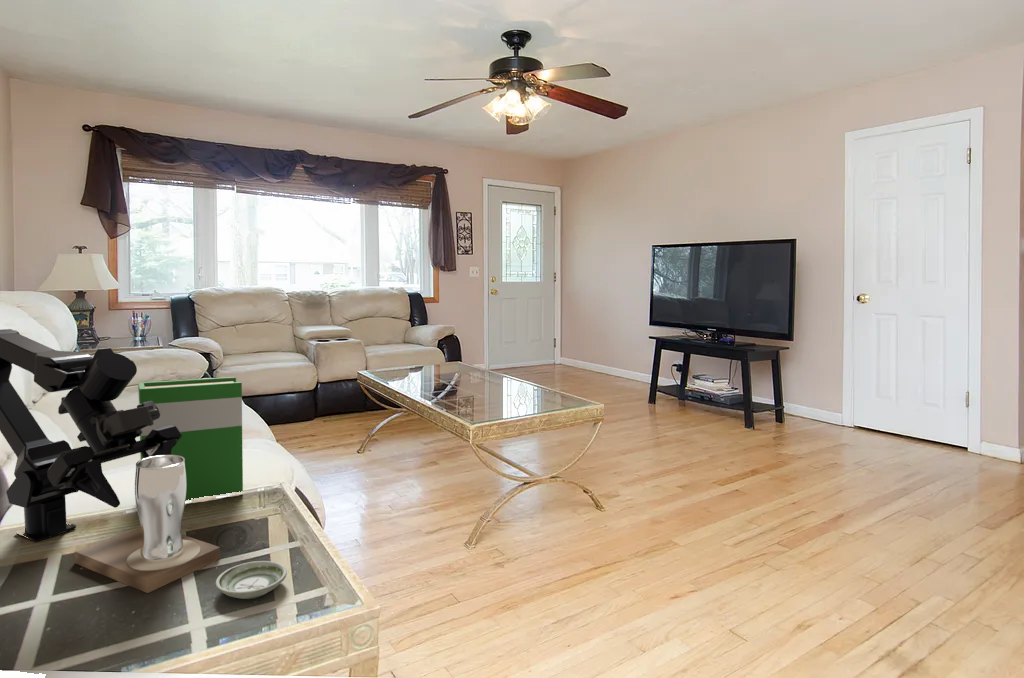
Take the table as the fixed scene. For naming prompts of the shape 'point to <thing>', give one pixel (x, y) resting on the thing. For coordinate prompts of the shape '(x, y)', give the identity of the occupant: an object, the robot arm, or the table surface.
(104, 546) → the walnut base
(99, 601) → the table surface
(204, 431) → the hardback book
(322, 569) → the table surface
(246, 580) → the saucer
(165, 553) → the metal tumbler
